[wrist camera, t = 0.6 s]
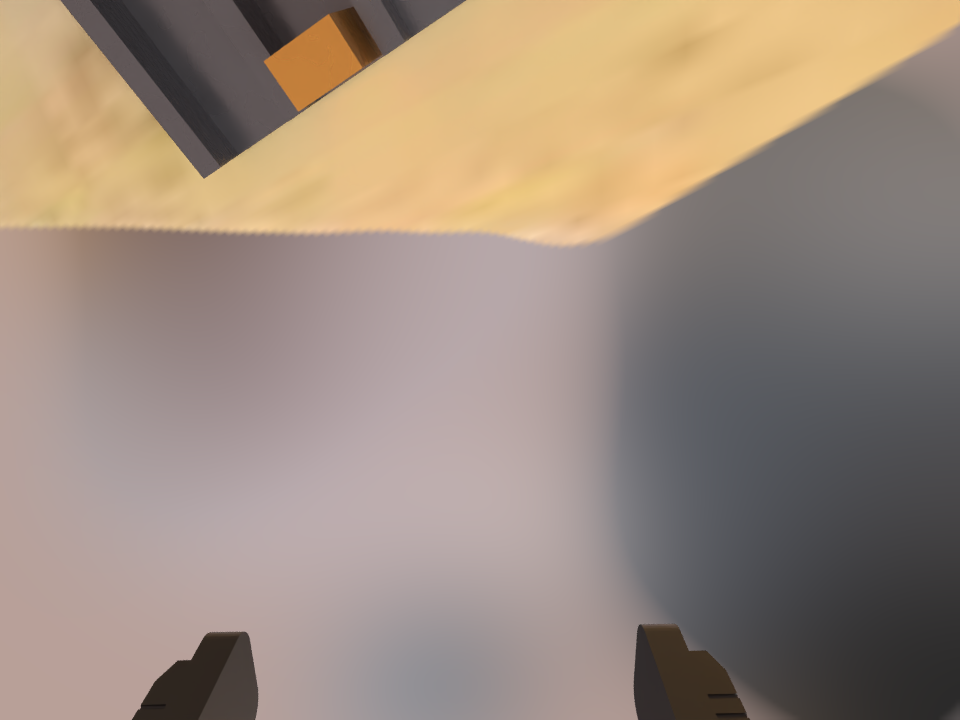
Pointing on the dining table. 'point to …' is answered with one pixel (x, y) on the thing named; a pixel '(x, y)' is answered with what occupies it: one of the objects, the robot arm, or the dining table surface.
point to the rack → (243, 59)
